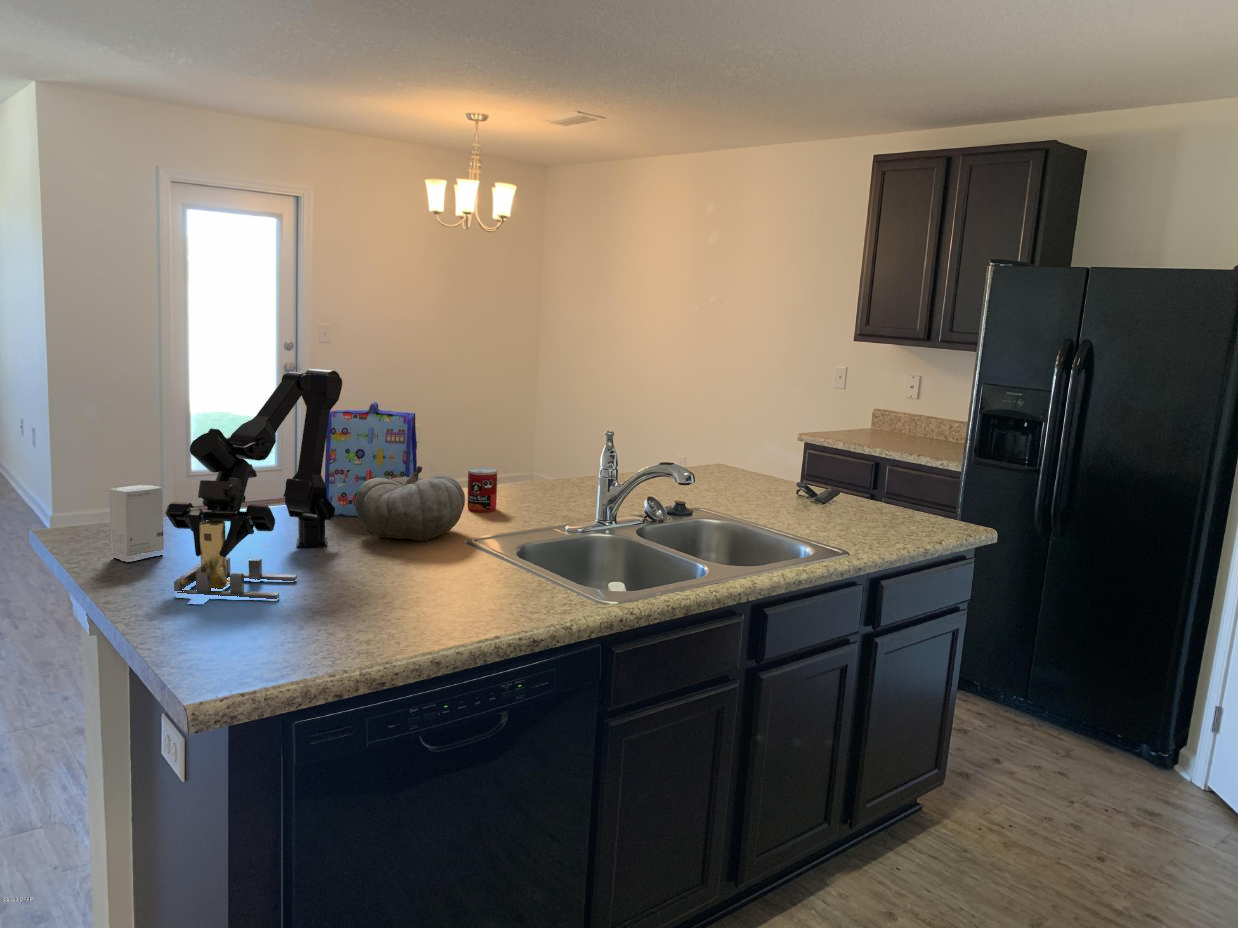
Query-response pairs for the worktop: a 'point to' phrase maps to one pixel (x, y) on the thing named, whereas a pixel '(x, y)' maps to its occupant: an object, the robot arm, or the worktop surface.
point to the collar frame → (235, 581)
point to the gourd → (410, 506)
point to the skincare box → (136, 519)
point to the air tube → (213, 552)
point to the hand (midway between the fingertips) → (210, 555)
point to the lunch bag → (366, 452)
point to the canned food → (482, 489)
